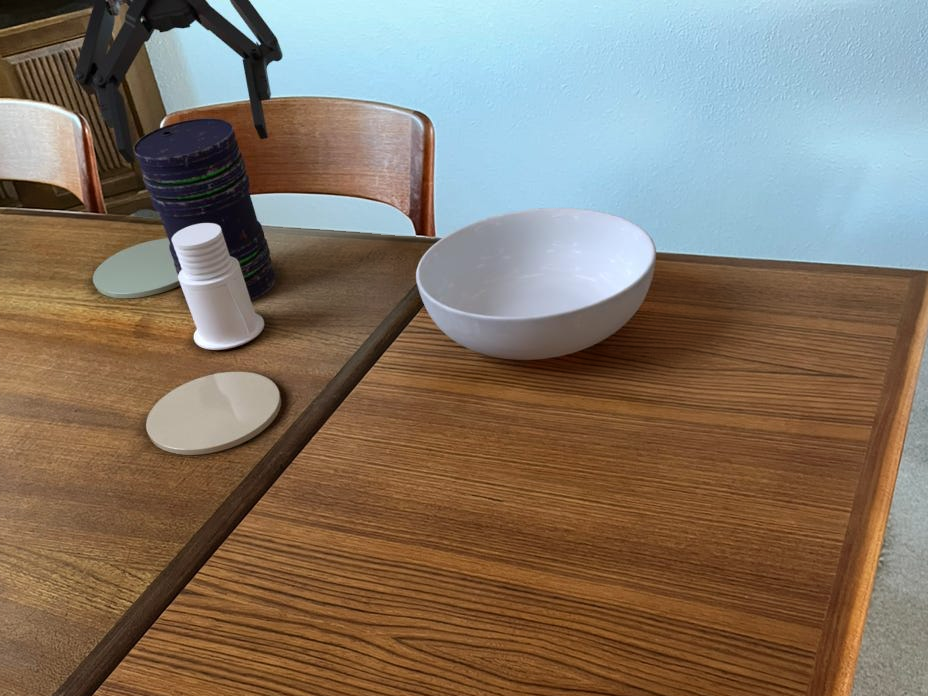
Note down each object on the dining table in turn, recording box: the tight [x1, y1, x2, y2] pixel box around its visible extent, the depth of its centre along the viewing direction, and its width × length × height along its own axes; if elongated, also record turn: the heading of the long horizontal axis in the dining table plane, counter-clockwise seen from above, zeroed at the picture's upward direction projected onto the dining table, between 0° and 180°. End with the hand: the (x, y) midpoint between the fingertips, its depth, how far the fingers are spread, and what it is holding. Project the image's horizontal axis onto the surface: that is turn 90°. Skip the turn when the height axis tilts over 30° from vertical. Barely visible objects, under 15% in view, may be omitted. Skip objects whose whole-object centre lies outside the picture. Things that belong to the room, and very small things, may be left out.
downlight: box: [172, 223, 265, 351], centre depth 92 cm, size 8×7×10 cm
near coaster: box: [145, 371, 282, 456], centre depth 86 cm, size 12×12×1 cm
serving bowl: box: [415, 207, 657, 361], centre depth 86 cm, size 21×21×7 cm
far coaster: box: [92, 237, 181, 299], centre depth 108 cm, size 13×13×1 cm
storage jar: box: [133, 117, 277, 301], centre depth 97 cm, size 10×10×15 cm
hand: (194, 144), depth 96 cm, fingers open, 13 cm apart
